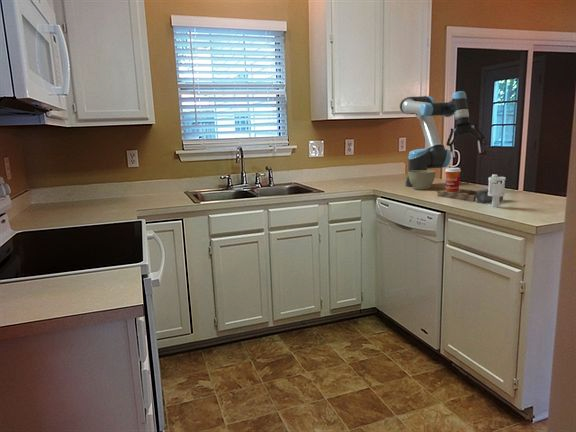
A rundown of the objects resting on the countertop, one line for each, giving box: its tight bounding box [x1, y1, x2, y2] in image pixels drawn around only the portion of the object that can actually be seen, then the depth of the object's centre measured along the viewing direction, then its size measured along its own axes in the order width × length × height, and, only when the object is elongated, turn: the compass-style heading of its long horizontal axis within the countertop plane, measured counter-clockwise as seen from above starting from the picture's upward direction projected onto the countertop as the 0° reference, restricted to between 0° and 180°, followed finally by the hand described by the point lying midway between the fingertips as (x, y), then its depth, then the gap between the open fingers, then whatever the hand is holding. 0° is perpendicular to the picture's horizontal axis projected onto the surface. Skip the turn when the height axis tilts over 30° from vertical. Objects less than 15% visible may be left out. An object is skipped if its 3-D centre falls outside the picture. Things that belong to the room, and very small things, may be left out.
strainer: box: [487, 174, 506, 208], centre depth 199 cm, size 7×7×15 cm
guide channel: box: [437, 188, 504, 205], centre depth 225 cm, size 30×14×6 cm, turn 26°
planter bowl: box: [407, 169, 437, 191], centre depth 263 cm, size 16×16×11 cm
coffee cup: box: [445, 167, 462, 193], centre depth 234 cm, size 8×8×15 cm
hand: (467, 154), depth 243 cm, fingers open, 13 cm apart
